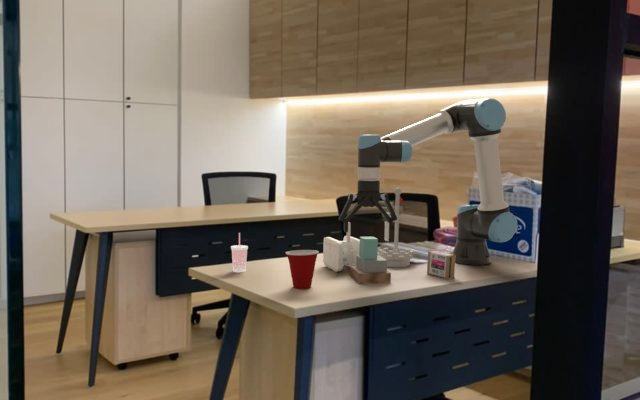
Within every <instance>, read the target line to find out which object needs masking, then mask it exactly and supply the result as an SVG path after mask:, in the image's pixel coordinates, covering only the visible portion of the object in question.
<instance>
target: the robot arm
mask: <svg viewBox="0 0 640 400" xmlns="http://www.w3.org/2000/svg"><path fill="white" fill-rule="evenodd" d="M506 118H507V114H506V109H505V107H504V105H503V104H502V103H501V102H500V101H498V100H497V99H495V98H490V97H482V98H474V99H473V98H472V99H463V100H460V101H458V102H456V103H453V104H452V105H449V106H447V107H445V108H442V109H440V110H438V111H437V113H436V114H435V115H433V116H430V117H428V118H425V119H423V120H420V121H418V122H415V123H413V124H411V125H408V126H405V127H404V128H402V129H401V128H400V129H399V130H397V131H394V132H391V133H390V134H386V135H384V136H381V135H380V134H360V135H359V137H358V142H357V143H358V145H357V154H358V155H357V156H358V157H357V159H358V160H357V179H359V180H358V181H357V191H356V194H353V193H348V195H347V200H346V203H345V205H344V206H343V208H342V211H341V213H340V214H339V216H338V220H339V221H341V222H342V223H343V231H344V233H346V236H347V238H346V241H347V242H350V236H351V230H352V229H351V226H352V225H351V222H350V221H351V220H352V219H353V217H354V216H355V215H356V214H357V212H358V211H360V209H361V208H362V207H363V208H368V207H370V208H374V207H375V208H377V210H378V211H379V213H380V214H381V215H382V216H383V217H384V219H385V220H386V221H384V241H385V242H389V241H390V240H389V239H390V232H392V229H393V225H392V223H393V222H395V220H397V216H396V214H395V209H394V207H393V206H392V204H391V201H390V197H389V193H385V192H384V193H383V194H381V193H380V190H381V188H380V187H381V186H380V179H381V163H407V162H410V160H411V159H412V156H413V147H414V146H417V145H418V144H421V143H423V142H426V141H429V140H430V139H433V138H436V137H438V136H440V135H442V134H446V135H449V134H453V133H455V132H461V131H468V132H467V133H468V138H469V139H471V140H472V141H473V145H474V146H473V148H474V155H475V156H474V157H475V164H476V165H475V166H476V173H477V183H478V189H479V200H480V203H479V204H462V205H460V206H459V207H458V209H457V214H456V216H457V218H456V219H457V220H456V242H455V245H454V248H453V250H452V253H451V254H452V255H456V258H455V263H456V264H462V265H471V266H472V265H474V266H479V265H487V264H490V263H491V255H490V251H489V249H488V245H487V241H491V242H494V243H505V242H508V241H510V240H511V239H512V238H513V236H514V235H515V233H516V232H517V230H518V229H517V228H518V220H517V217H516V216H515V215H514V214H513V212H510V205H509V203H508V202H506V201H505V195H504V187H503V179H502V178H503V177H502V170H501V169H502V168H501V161H500V159H501V158H500V152H499V151H500V149H499V142H498V137H499V136H500V135H501V133H502V129H501V128H503V126H504V125H505V122H506V121H507V120H506ZM380 199H381V200H383V202H384V204H385V206H386V209H387V210H388V213H389V214H388V213H387V212H386V210H385V209H384V208H383V207H382V205H381V204H380V202H379V201H380ZM355 200H357V202H356V203H355V206H354V207H353V208H352V209H351V210H350V208H351V205H352V204H353V201H355ZM349 210H350V211H349ZM348 212H349V213H348ZM347 213H348V214H347Z"/></svg>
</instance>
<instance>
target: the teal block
mask: <svg viewBox="0 0 640 400" xmlns="http://www.w3.org/2000/svg"><path fill="white" fill-rule="evenodd" d="M359 240H360V248H359V257H361V258H362V259H377V255H378V253H379V252H378V248H379V238H377V237H375V236H359Z"/></svg>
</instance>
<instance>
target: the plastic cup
mask: <svg viewBox="0 0 640 400" xmlns="http://www.w3.org/2000/svg"><path fill="white" fill-rule="evenodd" d="M318 254H319V250H316V249H315V250H314V249H313V250H312V249H296V250H289V251H285V255H286V256H287V259H288V263H289V268H290V269H289V270H290V275H291V280H292V281H291V282H292V287H293V288H294V289H298V290H307V289H310V288H311V287H312V283H313V278H314V274H315V267H316V263H317V262H316V261H317V258H318Z"/></svg>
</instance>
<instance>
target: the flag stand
mask: <svg viewBox="0 0 640 400" xmlns="http://www.w3.org/2000/svg"><path fill="white" fill-rule="evenodd" d="M393 193H394V195H395V206H394V207H395V208H394V212H395V214H396V216H397V220H395V221H394V240H393V243H394V245H393V249H392V250H390V248H389V247H383V248H382V249H380V248H379V252H378V255H379V256H381V257H383V258H384V259H386V260H387V267H393V268H404V267H405V268H406V267H409V266H410V265H411V264H410V263H411V260H412V259H413V256H414V250H411V249H409V248H404V249H403V250H401V248H400V247H399V229H400V221H399V220H400V204H401V203H402V202H403V200H404V199H403V198H402V196H401V194H402V188H401V187H395V188H394V189H393Z"/></svg>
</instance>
